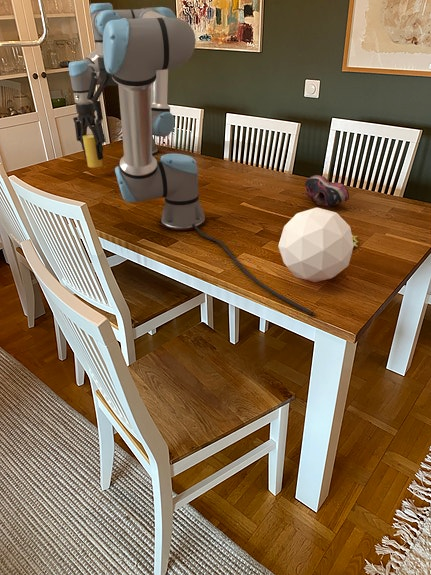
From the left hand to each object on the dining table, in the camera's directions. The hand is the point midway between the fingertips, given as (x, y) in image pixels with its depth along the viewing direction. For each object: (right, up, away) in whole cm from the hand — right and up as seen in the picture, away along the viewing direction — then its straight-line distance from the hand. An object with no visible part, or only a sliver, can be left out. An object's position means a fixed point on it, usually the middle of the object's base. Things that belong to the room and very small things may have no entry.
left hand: (94, 158), depth 196 cm
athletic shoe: (+94, -25, -28) cm, 101 cm away
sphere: (+81, -54, -73) cm, 122 cm away
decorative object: (+90, -42, -55) cm, 114 cm away
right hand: (+17, +4, -32) cm, 37 cm away
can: (0, -3, +2) cm, 3 cm away
